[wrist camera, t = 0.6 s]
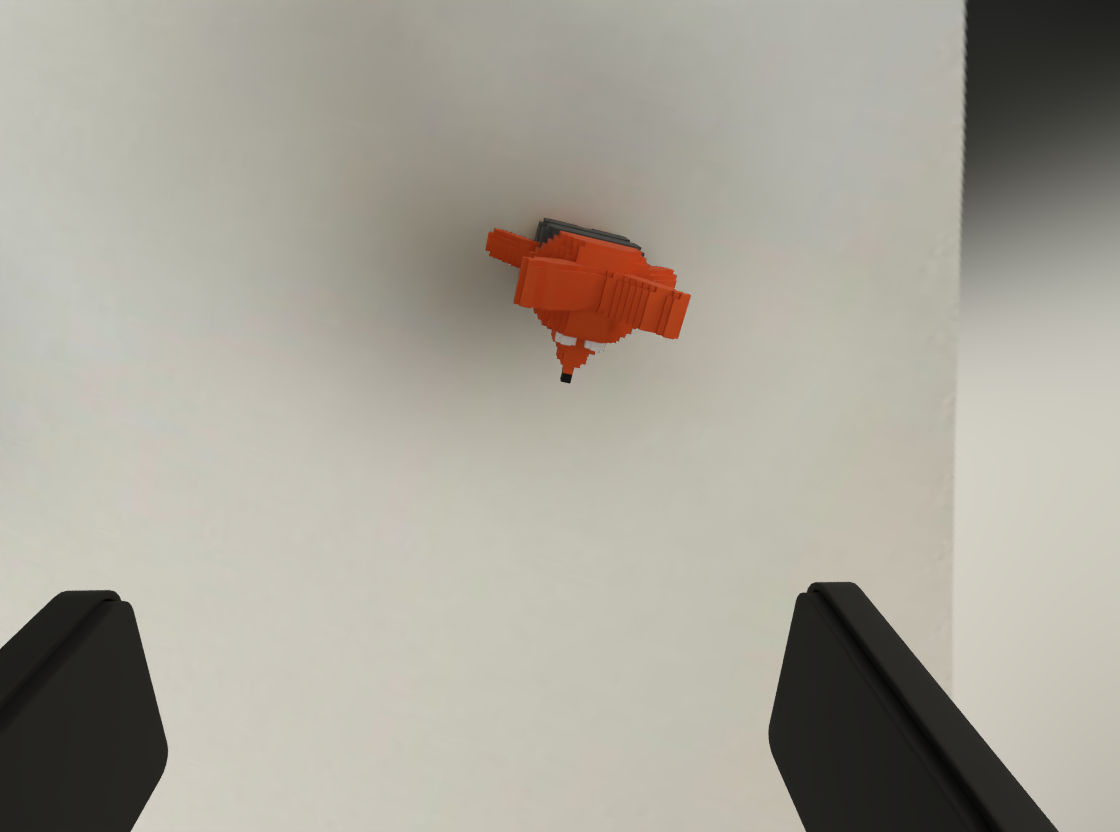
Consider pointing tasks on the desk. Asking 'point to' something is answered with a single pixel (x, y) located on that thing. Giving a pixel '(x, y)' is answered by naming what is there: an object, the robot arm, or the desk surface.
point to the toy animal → (589, 288)
